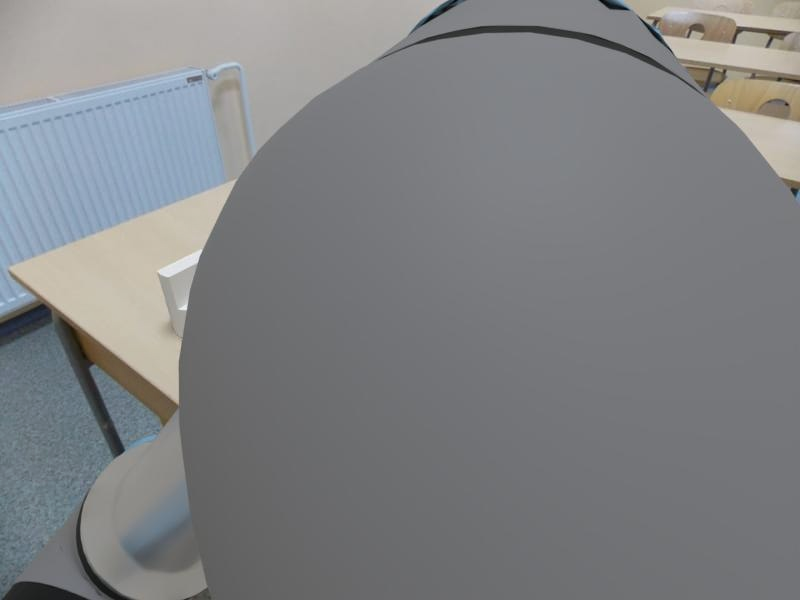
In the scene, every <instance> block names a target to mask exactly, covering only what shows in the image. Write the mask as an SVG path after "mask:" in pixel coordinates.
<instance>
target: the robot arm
mask: <svg viewBox="0 0 800 600" xmlns="http://www.w3.org/2000/svg"><path fill="white" fill-rule="evenodd" d="M688 70H689V69H687V68H686V67H685V66H684V65H683V64H681V62H680V61H679V59H678V57H677V56H676V55H675V53H674V51H673V50H672V48H671V47H670V46H669V44H667V42H666V40H665V39H664V37H663V35H662V33H661V31H660V28H657V27H656V26H654V25H652V24H650V23H649V22H647V21H645V20H644V19H643V18H642V17H641V16H639V14H638V13H637V12H635V11H634V9H632V8H631V6H629V5H628V4H627V3H626V2H624V1H623V0H446V1H444V2H443V3H441V4H439V5H438V6H436V7H435V8H434V9H432V10H431V11H429V13H427V14H426V15H425V16H424V17H423V18H421V20H419V22H417V24H416V25H414V27H413V28H412V29H411V30H410V31H409V33H408V34H407V35H406V37H404V38H402V39H401V40H400V41H398V42H397V43H396V44H395V45H393V46H392V47H390V48H388V49H387V50H386V51H385V52H384V53H382V54H381V55H379V56H377V57H376V58H375V59H374V60H373V61H371V62H369V63H368V64H367V65H365V66H362V67H361V68H358V69H357V70H356V71H354V72H352V73H351V74H350V75H348V76H346V77H344V78H343V79H342V80H340V81H339V82H337V83H335V84H334V85H332V86H330V87H329V88H327V89H325V90H323V91H322V92H320V93H319V94H317V95H315V96H314V97H313V98H311V100H310V101H309V102H308V103H306V104H305V105H304V106H303V107H301V109H300V110H298V111H297V113H295V114H294V115H293V116H292V117H290V118H289V119H288V120H287V121H286V122H285V123H284V124H282V125H281V126H280V127H279V128H278V129H277V131H275V132H274V133H273V135H272V136H271V137H269V138H268V140H267V141H266V142H265V143H264V144H262V145H261V147H260V148H259V149H258V150H257V151H256V153H255V154H254V156H253V157H252V158H251V160H250V161H249V163H248V164H246V166H245V168H244V170H243V171H242V172H241V174H240V175H239V176H238V178H237V179H236V180H235V182H234V185H233V187H232V189H231V190H230V193H229V194H228V196H227V198H226V200H225V203H224V204H223V206H222V208H221V210H220V212H219V215H218V216H217V219H216V220H215V223H214V225H213V227H212V229H211V231H210V233H209V236H208V238H207V239H206V242H205V244H204V247H202V249H203V250H202V253H201V255H200V257H199V261H198V264H197V267H196V271H195V274H194V278H193V281H192V285H191V288H190V293H189V299H188V306H187V312H186V318H185V325H184V331H183V338H182V337H181V338H182V339H181V344H180V351H179V357H178V407H177V409H176V411H175V412H174V413H173V414H172V415H171V417H170V418H169V420H167V422H166V423H165V425H164V426H163V427H162V429H161V430H160V431H159V433H158V434H152V435H148V436H146V437H143V438H141V439H138V440H136V441H135V442H134V443H132V444H131V445H129V446H128V447H127V448H126V449H125V450H124V451H123V452H122V453H121V454H120V455H118V456H116V457H114V459H113V460H112V461H111V462H109V463H108V464H107V466H106V467H105V468H104V469H103V470H102V471H101V473H99V475H98V477H97V478H96V479H95V481H94V482H93V483H92V484H91V486H90V487H89V488H88V490H87V492H86V494H85V495H84V496H83V497H82V499H81V500H80V502H79V503H78V505H77V506H76V507H75V509H74V510H72V512H71V514H70V515H69V516H68V517H67V518H66V520H65V521H64V523H63V524H61V526H60V527H59V528H58V530H57V531H56V532H55V533H54V535H53V536H52V537H51V538H50V539H49V541H48V542H47V543H46V544H45V545H44V547H43V548H42V549H41V550H40V551H39V553H38V554H37V555H36V556H35V557H34V559H32V561H31V562H30V563H29V565H27V567H26V568H25V570H24V571H22V573H21V574H20V575H19V577H18V578H17V579H16V580H15V582H13V584H12V585H11V587H10V589H9V590H8V591H7V592H6V593H5V594H4V596H3V597H1V600H193V599H194V597H195V596H197V595H199V594H201V592H203V591H205V590H206V589H208V593H209V596H210V600H800V203H799V201H798V200H797V198H796V197H795V195H794V194H793V192H792V190H791V189H790V188H789V187H788V185H787V184H786V182H785V181H784V180H783V179H782V178H781V176H780V175H779V174H778V173H777V171H776V170H775V168H773V166H772V165H771V164H770V163H769V161H768V160H767V159H766V158H765V156H764V155H763V154H762V153H761V151H760V150H759V149H758V148H757V147H756V145H755V144H754V143H753V142H752V140H751V139H750V138H749V137H748V135H747V134H746V133H745V132H744V130H742V129H741V128H740V127H739V125H737V123H736V122H734V121H733V120H732V119H731V118H730V117H729V116H727V114H726V113H724V112H723V111H722V109H720V108H719V107H718V106H716V105H715V103H714V102H713V101H712V100H711V98H710V97H709V96H708V95H707V94H706V92H705V91H704V90H703V89H702V87H701V86H700V85H699V84H698V83H697V82H696V80H695V79H694V78H693V76H692V75H691V74H690V73H689V71H688Z"/></svg>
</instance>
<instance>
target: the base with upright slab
mask: <svg viewBox="0 0 800 600" xmlns="http://www.w3.org/2000/svg"><path fill="white" fill-rule="evenodd" d="M202 250H203V248H201V249H198V250H197V251H194V252H192V253H190V254H188V255H186V256H184V257H182V258H180V259H178V260H176V261H174V262H172V263H169V264H167V265H165V266H164V267H162V268H159V269H157V270H156V273H157V276H158V280H159V283H160V287H161V290H162V293H163V297H164V301H165V304H166V309H167V311H168V316H169V318H170V322H171V324H172V328H173V331H174V333H175V334H176V335H177V336H178V337H180V338H183V331H184V325H185V318H186V312H187V306H188V299H189V293H190V288H191V285H192V281H193V278H194V274H195V271H196V267H197V264H198V261H199V257H200V255H201V253H202Z"/></svg>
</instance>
